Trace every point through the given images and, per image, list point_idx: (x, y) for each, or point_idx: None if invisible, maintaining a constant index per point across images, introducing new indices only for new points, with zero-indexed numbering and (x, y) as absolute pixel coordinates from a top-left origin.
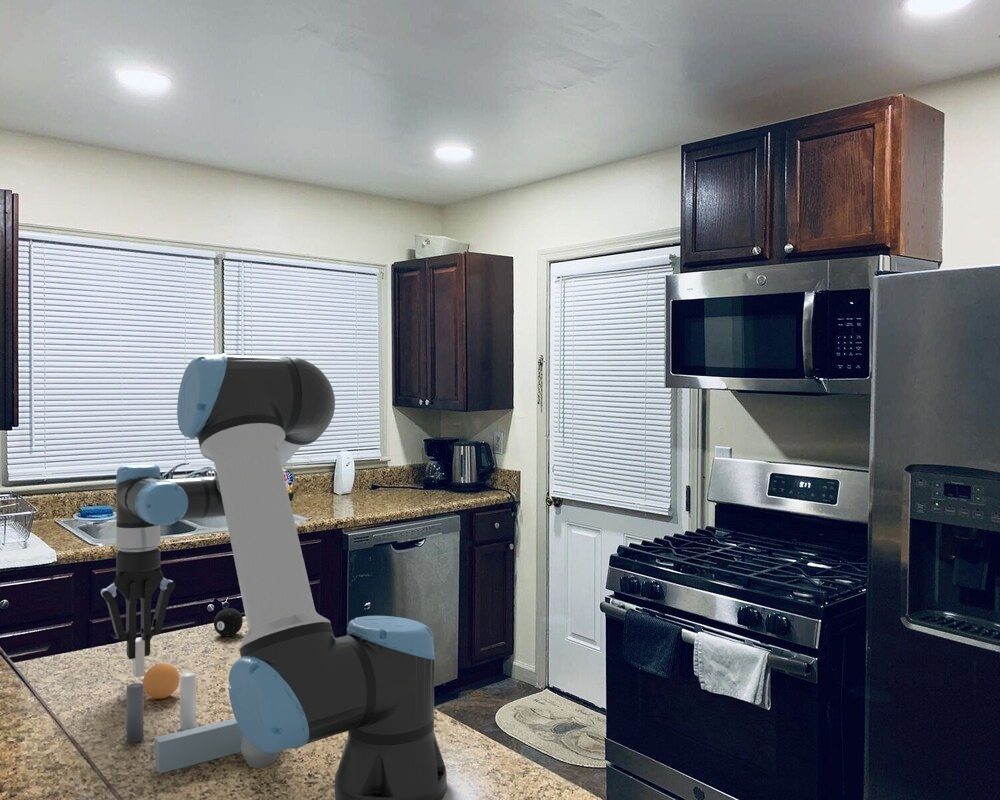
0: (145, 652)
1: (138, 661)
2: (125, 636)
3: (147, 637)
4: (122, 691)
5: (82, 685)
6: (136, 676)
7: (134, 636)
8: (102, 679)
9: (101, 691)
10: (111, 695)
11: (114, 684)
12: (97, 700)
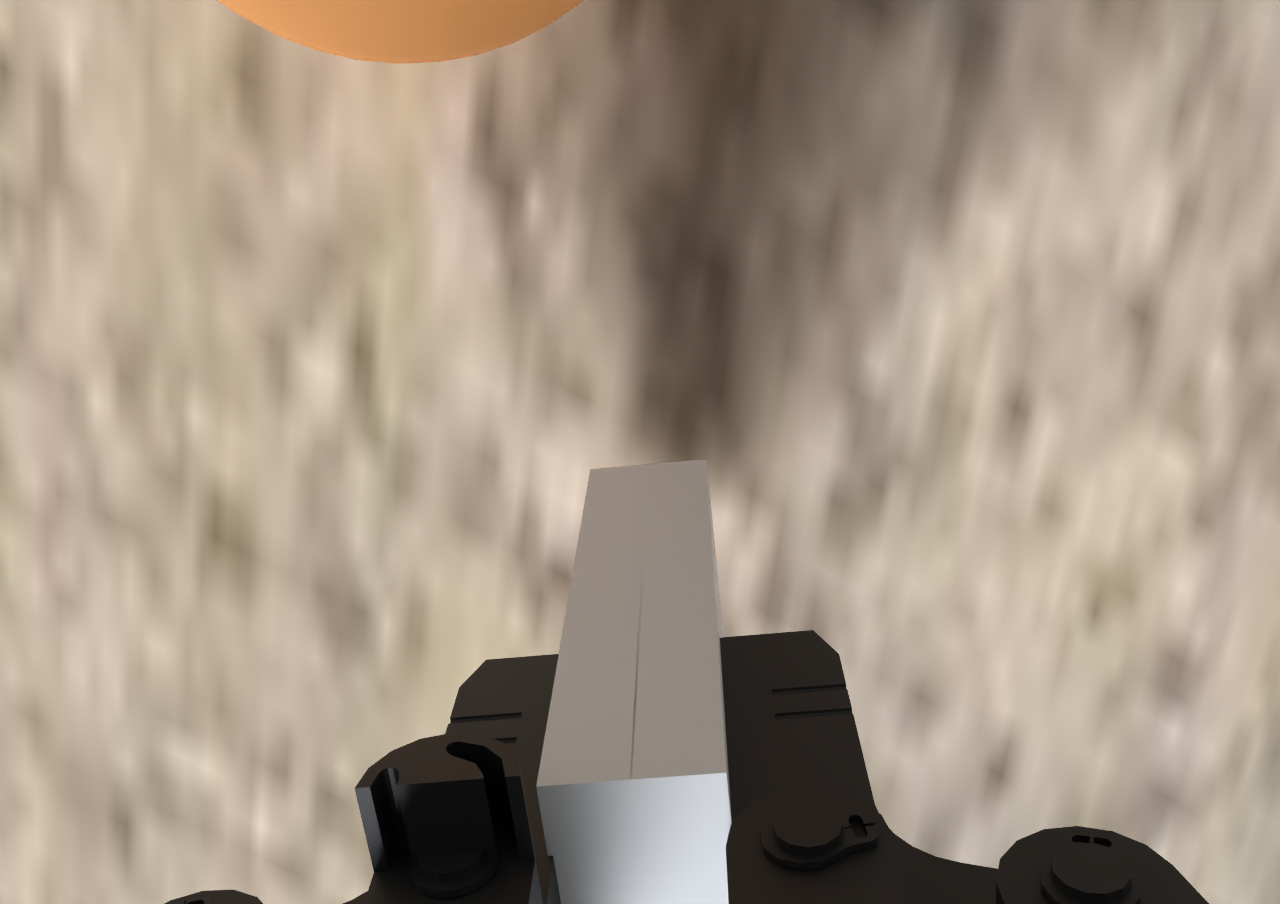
0: (540, 691)
1: (673, 559)
2: (1003, 893)
3: (464, 779)
4: (876, 350)
5: (1228, 784)
6: (700, 466)
7: (769, 877)
8: (995, 862)
9: (1097, 482)
10: (1026, 270)
11: (913, 644)
12: (1221, 169)
